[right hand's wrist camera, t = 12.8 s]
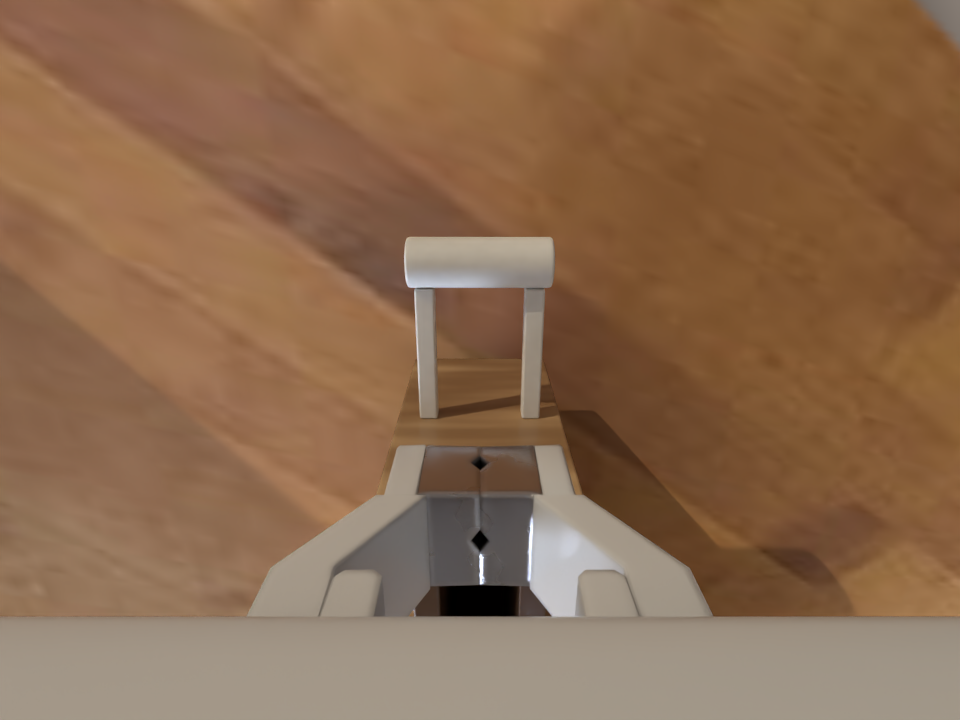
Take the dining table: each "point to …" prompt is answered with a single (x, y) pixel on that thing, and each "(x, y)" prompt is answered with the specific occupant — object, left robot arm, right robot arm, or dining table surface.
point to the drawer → (479, 384)
